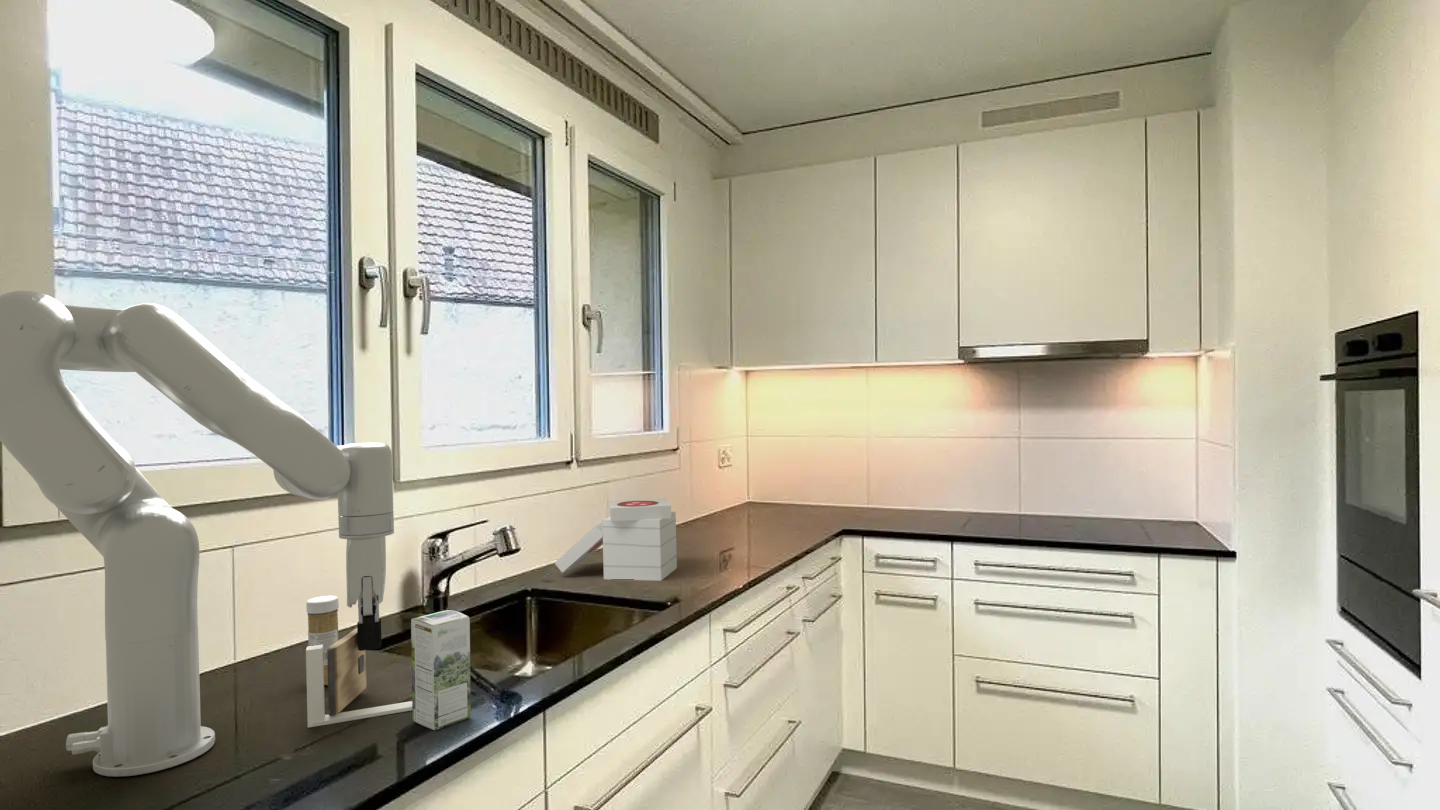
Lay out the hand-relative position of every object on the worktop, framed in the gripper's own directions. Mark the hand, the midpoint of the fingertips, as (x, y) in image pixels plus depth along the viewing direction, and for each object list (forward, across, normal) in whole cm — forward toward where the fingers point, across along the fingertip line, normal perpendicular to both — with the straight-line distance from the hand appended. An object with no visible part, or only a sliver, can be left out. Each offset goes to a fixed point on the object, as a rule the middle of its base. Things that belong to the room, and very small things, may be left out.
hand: (369, 647), depth 117 cm
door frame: (+8, +6, 0) cm, 10 cm away
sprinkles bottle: (+8, -12, -7) cm, 16 cm away
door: (+7, +2, -3) cm, 8 cm away
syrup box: (+8, +13, +9) cm, 18 cm away
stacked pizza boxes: (+8, -68, +57) cm, 89 cm away
